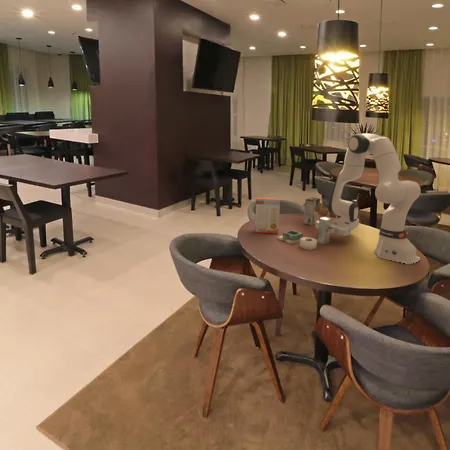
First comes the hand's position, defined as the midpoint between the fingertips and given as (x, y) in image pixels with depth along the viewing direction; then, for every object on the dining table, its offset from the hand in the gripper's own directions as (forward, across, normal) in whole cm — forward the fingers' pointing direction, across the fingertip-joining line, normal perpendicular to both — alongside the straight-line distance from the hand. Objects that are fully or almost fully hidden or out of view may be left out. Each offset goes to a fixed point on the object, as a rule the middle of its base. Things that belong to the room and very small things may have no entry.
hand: (323, 230), depth 236 cm
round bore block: (+12, 0, +8) cm, 14 cm away
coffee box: (-27, -30, +8) cm, 41 cm away
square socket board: (+10, -13, +8) cm, 18 cm away
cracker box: (+12, -32, +8) cm, 35 cm away
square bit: (-1, 0, +8) cm, 8 cm away
